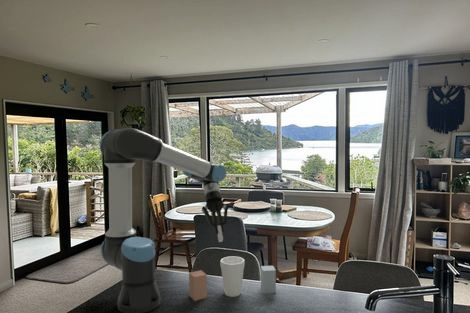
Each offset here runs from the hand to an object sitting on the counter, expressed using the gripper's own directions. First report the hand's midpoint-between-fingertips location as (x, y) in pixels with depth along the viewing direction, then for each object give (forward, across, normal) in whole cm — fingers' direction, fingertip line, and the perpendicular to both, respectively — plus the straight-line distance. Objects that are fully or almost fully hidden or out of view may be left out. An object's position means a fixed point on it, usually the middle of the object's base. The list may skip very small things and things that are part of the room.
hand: (221, 240), depth 141 cm
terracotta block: (+22, -12, +1) cm, 25 cm away
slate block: (+23, +15, -1) cm, 28 cm away
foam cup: (+22, +1, +1) cm, 22 cm away
